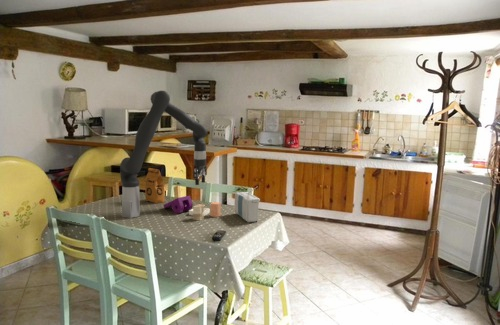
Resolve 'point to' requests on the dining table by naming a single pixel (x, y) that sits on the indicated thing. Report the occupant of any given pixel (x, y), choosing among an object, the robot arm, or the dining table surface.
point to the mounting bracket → (180, 204)
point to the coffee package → (154, 186)
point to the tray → (206, 211)
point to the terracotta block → (215, 209)
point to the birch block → (198, 212)
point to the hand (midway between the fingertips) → (200, 183)
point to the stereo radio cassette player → (247, 206)
